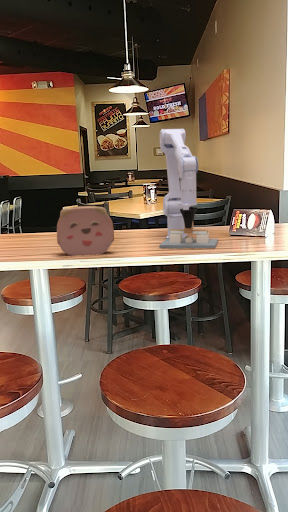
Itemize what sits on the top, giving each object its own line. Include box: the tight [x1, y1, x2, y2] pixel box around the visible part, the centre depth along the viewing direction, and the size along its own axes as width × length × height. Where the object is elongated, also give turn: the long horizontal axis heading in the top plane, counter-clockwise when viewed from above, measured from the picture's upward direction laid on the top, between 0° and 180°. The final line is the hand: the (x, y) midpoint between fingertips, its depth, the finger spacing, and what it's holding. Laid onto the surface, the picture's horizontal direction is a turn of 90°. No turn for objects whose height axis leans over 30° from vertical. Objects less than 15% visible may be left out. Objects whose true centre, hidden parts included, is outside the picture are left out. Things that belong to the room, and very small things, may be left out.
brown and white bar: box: [170, 222, 209, 235], centre depth 164 cm, size 3×14×4 cm, turn 76°
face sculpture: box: [56, 205, 115, 257], centre depth 155 cm, size 20×7×17 cm, turn 94°
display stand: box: [159, 232, 219, 249], centre depth 165 cm, size 14×20×4 cm
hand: (189, 227), depth 164 cm, fingers closed on brown and white bar, 2 cm apart
